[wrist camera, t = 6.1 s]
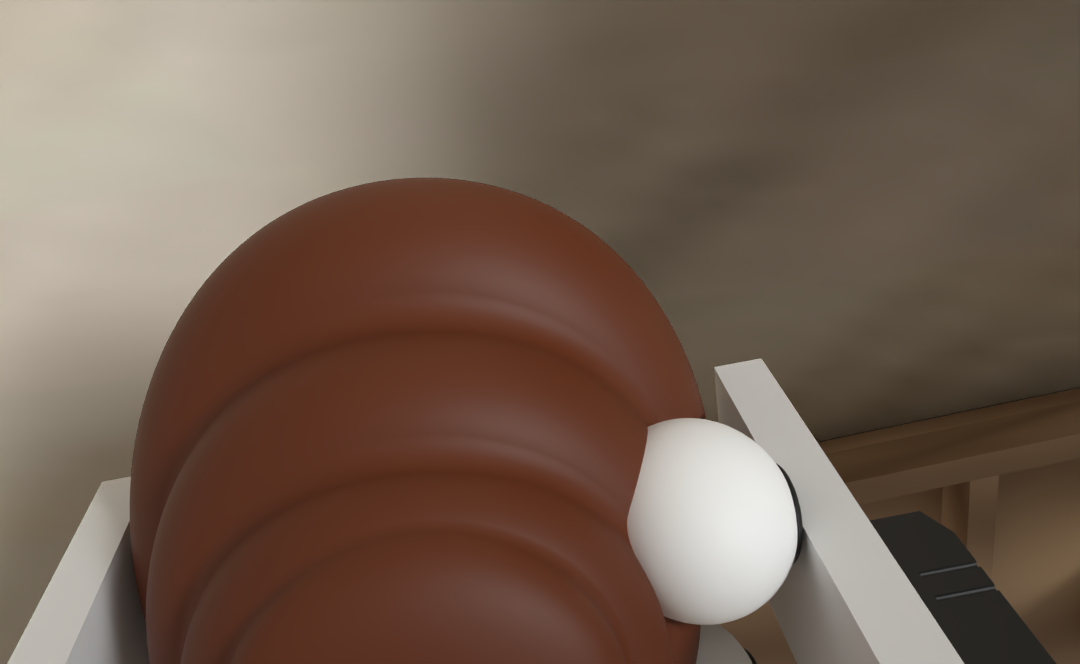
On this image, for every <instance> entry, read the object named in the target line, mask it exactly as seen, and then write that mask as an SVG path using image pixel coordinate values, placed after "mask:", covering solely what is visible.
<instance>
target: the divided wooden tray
mask: <svg viewBox="0 0 1080 664" xmlns="http://www.w3.org/2000/svg"><path fill="white" fill-rule="evenodd" d="M817 443H818V444H819V446H820V447H821V449H822V450H823V452H824V453H825V455H826V456H827V458H828V459H829V461H830V462H831V464H832V465H833V467H834V468H835V470H836V471H837V473H838V474H839V476H840V477H841V479H842V480H843V482H844V483H845V485H846V486H847V488H848V489H849V491H850V492H851V494H852V495H853V497H854V498H855V500H856V501H857V503H858V504H859V506H860V507H861V509H862V510H863V512H864V513H865V515H866V516H867V518H868V519H869V521H870V520H875V519H880V518H885V517H890V516H896V515H901V514H906V513H911V512H916V511H921V512H922V513H924V514H926V515H927V516H929V517H930V518H932V519H934V520H935V521H937V522H938V523H940V524H941V525H943V526H945V527H946V528H948V529H949V530H951V531H953V532H954V533H955V534H956V535H957V537H958V538H959V539H960V540H961V542H962V543H963V544H964V546H965V547H966V548H967V549H968V551H969V552H970V553H971V555H972V556H973V557H974V558H975V560H976V562H977V566H978V567H980V566H981V567H982V569H983V570H984V571H985V573H986V574H987V575H988V576H989V578H990V579H991V580H992V582H993V583H994V584H995V589H996V590H999V591H1000V592H1001V593H1002V594H1003V596H1004V597H1005V598H1006V600H1007V601H1008V602H1009V603H1010V605H1011V606H1012V607H1013V609H1014V610H1015V611H1016V612H1017V614H1018V615H1019V616H1020V618H1021V619H1022V620H1023V621H1024V623H1025V624H1026V625H1027V627H1028V628H1029V629H1030V630H1031V632H1032V633H1033V634H1034V636H1035V637H1036V638H1037V639H1038V641H1039V642H1040V643H1041V645H1042V646H1043V647H1044V648H1045V650H1046V651H1047V652H1048V654H1049V655H1050V656H1051V657H1052V659H1053V660H1054V661H1055V662H1056V664H1080V388H1076V389H1071V390H1067V391H1062V392H1057V393H1052V394H1047V395H1043V396H1038V397H1033V398H1028V399H1024V400H1019V401H1014V402H1009V403H1004V404H1000V405H995V406H990V407H985V408H980V409H976V410H971V411H966V412H961V413H956V414H952V415H947V416H942V417H937V418H932V419H928V420H923V421H918V422H913V423H908V424H904V425H899V426H894V427H889V428H885V429H880V430H875V431H870V432H865V433H861V434H856V435H851V436H846V437H841V438H837V439H832V440H827V441H822V442H817ZM719 625H721V626H722V627H723V628H724V629H726V630H727V631H728V632H729V633H730V634H731V635H732V636H733V637H734V638H735V639H736V640H737V641H738V642H739V643H740V644H741V646H742V647H743V648H744V649H746V650H748V651H749V652H750V653H751V654H752V656H753V657H754V659H755V661H756V662H757V664H797V663H796V660H795V658H794V656H793V654H792V652H791V650H790V647H789V645H788V643H787V641H786V639H785V636H784V634H783V632H782V630H781V628H780V625H779V623H778V621H777V619H776V617H775V614H774V612H773V610H772V608H771V606H770V604H769V601H767V602H766V603H765V604H764V605H763V606H761V607H760V608H759V609H757V610H756V611H754V612H752V613H751V614H749V615H747V616H745V617H742V618H740V619H737V620H734V621H731V622H727V623H722V624H719Z"/></svg>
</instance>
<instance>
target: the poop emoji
mask: <svg viewBox="0 0 1080 664" xmlns="http://www.w3.org/2000/svg"><path fill="white" fill-rule="evenodd" d="M130 536H131V547H132V557H133V564H134V572H135V578H136V584H137V589H138V594H139V599H140V603H141V607H142V612H143V616H144V620H145V623H146V635H147V647H148V655H149V662H150V664H757V662H756V661H755V659H754V657H753V656H752V654H751V653H750V652H749V651H748V650H746V649H744V648H743V647H742V646H741V644H740V643H739V642H738V641H737V640H736V639H735V638H734V637H733V636H732V635H731V634H730V633H729V632H728V631H727V630H726V629H724V628H723V627H722V626H721V625H719V624H722V623H727V622H731V621H734V620H737V619H740V618H742V617H745V616H747V615H749V614H751V613H752V612H754V611H756V610H757V609H759V608H760V607H761V606H763V605H764V604H765V603H766V602H767V601H769V600H770V599H771V598H772V597H773V596H774V594H775V593H776V592H777V591H778V590H779V588H780V587H781V585H782V584H783V583H784V581H785V579H786V578H787V576H788V574H789V571H790V569H791V567H792V565H793V564H794V563H795V562H796V561H797V559H798V557H799V555H800V552H801V548H802V540H803V524H802V515H801V509H800V505H799V500H798V497H797V494H796V491H795V488H794V486H793V484H792V482H791V480H790V478H789V476H788V474H787V473H786V471H785V470H784V469H783V468H782V467H781V466H780V465H778V464H777V463H775V462H774V460H773V459H772V458H771V457H770V456H769V454H768V453H767V452H766V451H765V450H764V449H763V448H761V447H760V446H759V445H758V444H757V443H756V442H754V441H753V440H752V439H750V438H749V437H748V436H746V435H744V434H743V433H741V432H739V431H737V430H735V429H733V428H731V427H729V426H727V425H724V424H721V423H718V422H714V421H710V420H706V416H705V411H704V407H703V404H702V400H701V397H700V393H699V390H698V387H697V384H696V380H695V378H694V375H693V372H692V369H691V367H690V364H689V362H688V359H687V357H686V355H685V352H684V350H683V348H682V345H681V343H680V341H679V339H678V337H677V335H676V333H675V331H674V330H673V328H672V326H671V324H670V322H669V320H668V319H667V317H666V315H665V314H664V312H663V310H662V309H661V307H660V306H659V304H658V303H657V301H656V300H655V298H654V297H653V295H652V294H651V292H650V291H649V290H648V288H647V287H646V286H645V284H644V283H643V282H642V281H641V279H640V278H639V277H638V276H637V275H636V273H635V272H634V271H633V270H632V269H631V268H630V267H629V265H628V264H627V263H626V262H625V261H624V260H623V259H622V258H621V257H620V256H619V255H618V254H617V253H616V252H615V251H614V250H613V249H612V248H610V247H609V246H608V245H607V244H606V243H605V242H603V241H602V240H601V239H600V238H599V237H598V236H596V235H595V234H594V233H592V232H591V231H590V230H588V229H587V228H586V227H584V226H583V225H581V224H580V223H578V222H577V221H575V220H573V219H572V218H570V217H568V216H567V215H565V214H563V213H562V212H560V211H558V210H556V209H554V208H552V207H550V206H548V205H546V204H544V203H542V202H539V201H537V200H535V199H532V198H530V197H527V196H525V195H522V194H519V193H516V192H513V191H510V190H506V189H503V188H499V187H495V186H491V185H487V184H482V183H477V182H471V181H465V180H456V179H444V178H405V179H394V180H386V181H379V182H373V183H368V184H363V185H359V186H355V187H350V188H347V189H343V190H340V191H337V192H333V193H330V194H328V195H325V196H322V197H319V198H317V199H315V200H312V201H310V202H307V203H305V204H303V205H301V206H299V207H297V208H295V209H293V210H291V211H289V212H288V213H286V214H284V215H282V216H280V217H279V218H277V219H275V220H274V221H272V222H271V223H269V224H268V225H266V226H265V227H263V228H262V229H260V230H259V231H258V232H256V233H255V234H253V235H252V236H251V237H250V238H249V239H247V240H246V241H245V242H244V243H243V244H241V245H240V246H239V247H238V248H237V249H236V250H235V251H233V252H232V253H231V254H230V255H229V256H228V257H227V258H226V259H225V260H224V261H223V262H222V263H221V264H220V265H219V266H218V268H217V269H216V270H215V271H214V272H213V273H212V274H211V276H210V277H209V278H208V279H207V280H206V281H205V283H204V284H203V285H202V287H201V288H200V289H199V290H198V292H197V293H196V295H195V296H194V298H193V299H192V300H191V302H190V303H189V305H188V306H187V308H186V309H185V311H184V312H183V314H182V316H181V317H180V319H179V321H178V322H177V324H176V326H175V328H174V330H173V332H172V333H171V335H170V337H169V339H168V341H167V343H166V345H165V347H164V350H163V352H162V354H161V356H160V359H159V361H158V364H157V366H156V369H155V371H154V374H153V377H152V379H151V382H150V385H149V388H148V392H147V395H146V398H145V401H144V405H143V408H142V412H141V416H140V420H139V425H138V430H137V435H136V440H135V446H134V453H133V460H132V469H131V483H130Z"/></svg>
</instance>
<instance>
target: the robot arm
mask: <svg viewBox="0 0 1080 664" xmlns="http://www.w3.org/2000/svg"><path fill="white" fill-rule="evenodd" d="M714 375H715V387H716V399H717V411H718V423H721V424H724V425H727V426H729V427H731V428H733V429H735V430H737V431H739V432H741V433H743V434H744V435H746V436H748V437H749V438H750V439H752V440H753V441H754V442H756V443H757V444H758V445H759V446H760V447H761V448H763V449H764V450H765V451H766V452H767V453H768V454H769V456H770V457H771V458H772V459H773V460H774V462H775V463H777V464H778V465H780V466H781V467H782V468H783V469H784V470H785V471H786V473H787V474H788V476H789V478H790V480H791V482H792V484H793V486H794V488H795V491H796V494H797V497H798V500H799V505H800V509H801V515H802V524H803V540H802V548H801V552H800V555H799V557H798V559H797V561H796V562H795V563H794V564H793V565H792V567H791V569H790V571H789V574H788V576H787V578H786V579H785V581H784V583H783V584H782V585H781V587H780V588H779V590H778V591H777V592H776V593H775V594H774V596H773V597H772V598H771V599H770V600H769V604H770V606H771V608H772V610H773V612H774V614H775V617H776V619H777V621H778V623H779V625H780V628H781V630H782V632H783V634H784V636H785V639H786V641H787V643H788V645H789V647H790V650H791V652H792V654H793V656H794V658H795V660H796V663H797V664H1056V662H1055V661H1054V660H1053V659H1052V657H1051V656H1050V655H1049V654H1048V652H1047V651H1046V650H1045V648H1044V647H1043V646H1042V645H1041V643H1040V642H1039V641H1038V639H1037V638H1036V637H1035V636H1034V634H1033V633H1032V632H1031V630H1030V629H1029V628H1028V627H1027V625H1026V624H1025V623H1024V621H1023V620H1022V619H1021V618H1020V616H1019V615H1018V614H1017V612H1016V611H1015V610H1014V609H1013V607H1012V606H1011V605H1010V603H1009V602H1008V601H1007V600H1006V598H1005V597H1004V596H1003V594H1002V593H1001V592H1000V591H999V590H996V589H995V584H994V583H993V582H992V580H991V579H990V578H989V576H988V575H987V574H986V573H985V571H984V570H983V569H982V567H981V566H980V567H978V566H977V562H976V560H975V558H974V557H973V556H972V555H971V553H970V552H969V551H968V549H967V548H966V547H965V546H964V544H963V543H962V542H961V540H960V539H959V538H958V537H957V535H956V534H955V533H954V532H953V531H951V530H949V529H948V528H946V527H945V526H943V525H941V524H940V523H938V522H937V521H935V520H934V519H932V518H930V517H929V516H927V515H926V514H924V513H922V512H921V511H916V512H911V513H906V514H901V515H896V516H890V517H885V518H880V519H875V520H870V521H869V519H868V518H867V516H866V515H865V513H864V512H863V510H862V509H861V507H860V506H859V504H858V503H857V501H856V500H855V498H854V497H853V495H852V494H851V492H850V491H849V489H848V488H847V486H846V485H845V483H844V482H843V480H842V479H841V477H840V476H839V474H838V473H837V471H836V470H835V468H834V467H833V465H832V464H831V462H830V461H829V459H828V458H827V456H826V455H825V453H824V452H823V450H822V449H821V447H820V446H819V444H818V443H817V441H816V440H815V438H814V437H813V435H812V434H811V432H810V431H809V429H808V428H807V426H806V425H805V423H804V422H803V420H802V419H801V417H800V416H799V414H798V413H797V411H796V410H795V408H794V407H793V405H792V404H791V402H790V401H789V399H788V398H787V396H786V394H785V393H784V391H783V390H782V388H781V387H780V385H779V384H778V382H777V381H776V379H775V378H774V376H773V375H772V373H771V372H770V370H769V369H768V367H767V366H766V364H765V363H764V361H763V360H762V358H760V359H754V360H749V361H744V362H738V363H733V364H728V365H722V366H717V367H714ZM130 483H131V476H130V477H125V478H119V479H114V480H109V481H103V482H102V483H101V485H100V487H99V489H98V491H97V492H96V494H95V496H94V498H93V500H92V502H91V504H90V506H89V508H88V510H87V512H86V514H85V516H84V517H83V519H82V521H81V523H80V525H79V527H78V529H77V531H76V533H75V535H74V537H73V539H72V540H71V542H70V544H69V546H68V548H67V550H66V552H65V554H64V556H63V558H62V560H61V562H60V564H59V565H58V567H57V569H56V571H55V573H54V575H53V577H52V579H51V581H50V583H49V585H48V587H47V588H46V590H45V592H44V594H43V596H42V598H41V600H40V602H39V604H38V606H37V608H36V610H35V612H34V613H33V615H32V617H31V619H30V621H29V623H28V625H27V627H26V629H25V631H24V633H23V635H22V636H21V638H20V640H19V642H18V644H17V646H16V648H15V650H14V652H13V654H12V656H11V658H10V660H9V661H8V663H7V664H150V662H149V655H148V647H147V635H146V623H145V620H144V616H143V612H142V607H141V603H140V599H139V594H138V589H137V584H136V578H135V572H134V564H133V557H132V547H131V536H130Z"/></svg>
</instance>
